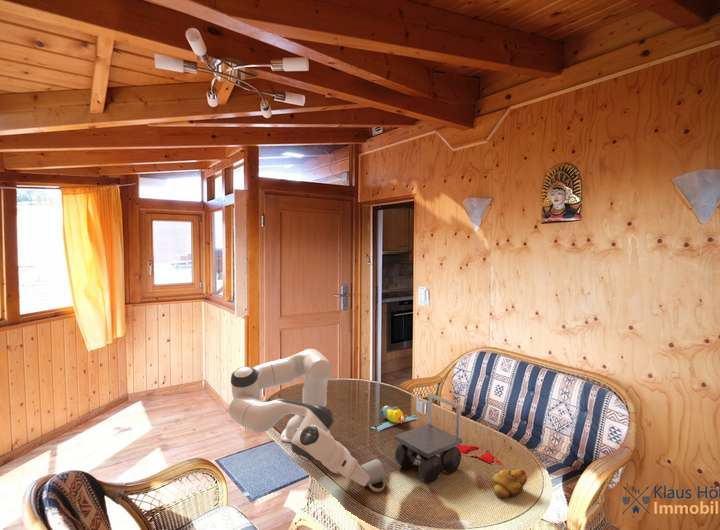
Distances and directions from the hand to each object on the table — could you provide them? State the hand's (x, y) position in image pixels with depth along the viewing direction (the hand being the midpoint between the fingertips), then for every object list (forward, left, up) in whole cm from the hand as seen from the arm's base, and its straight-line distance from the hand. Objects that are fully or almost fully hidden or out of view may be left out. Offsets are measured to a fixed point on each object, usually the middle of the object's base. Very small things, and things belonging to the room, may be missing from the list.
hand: (359, 476), depth 149 cm
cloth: (+47, +28, -5) cm, 55 cm away
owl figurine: (+14, +57, -5) cm, 59 cm away
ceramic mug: (+5, +2, -5) cm, 7 cm away
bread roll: (+53, +1, -5) cm, 53 cm away
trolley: (+26, +14, -4) cm, 30 cm away
